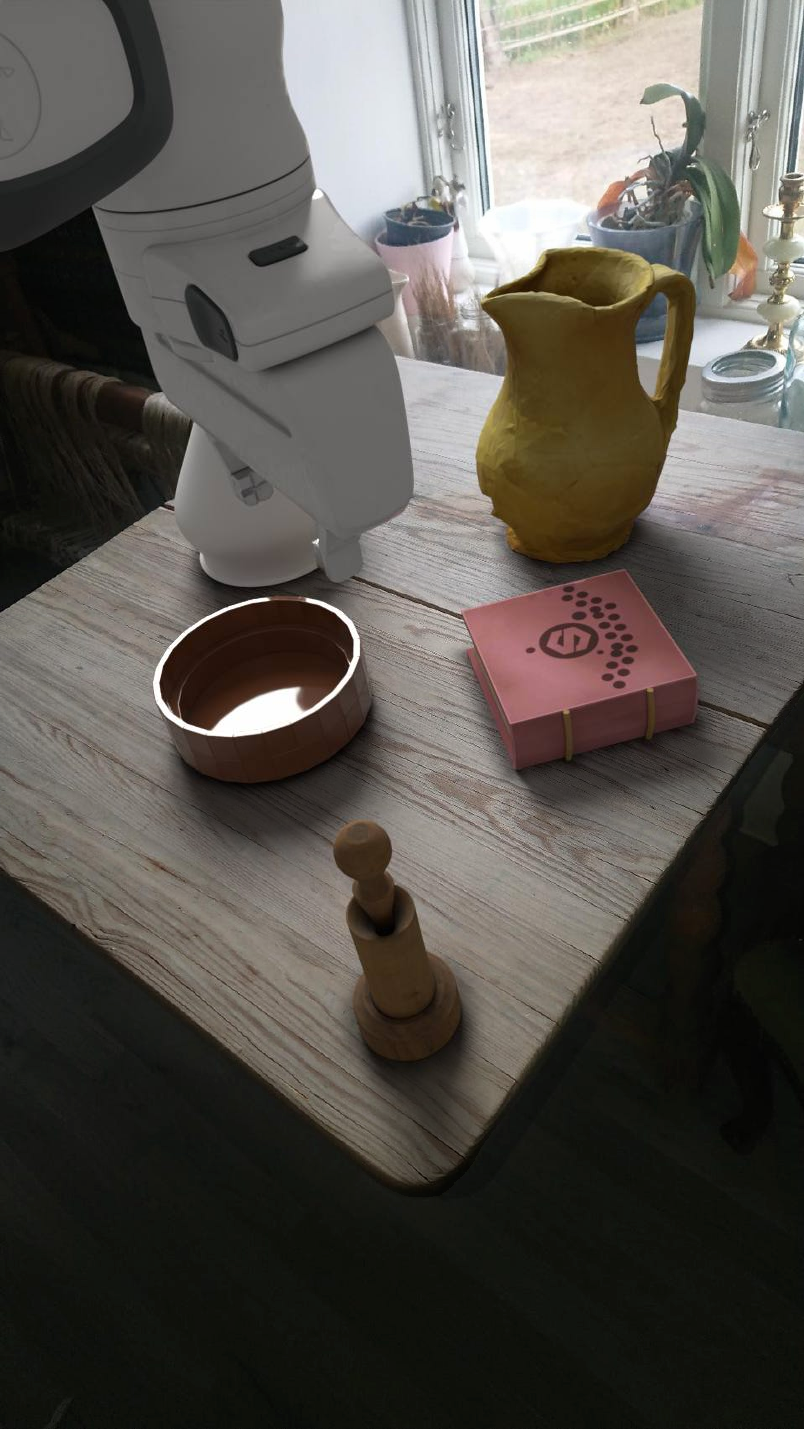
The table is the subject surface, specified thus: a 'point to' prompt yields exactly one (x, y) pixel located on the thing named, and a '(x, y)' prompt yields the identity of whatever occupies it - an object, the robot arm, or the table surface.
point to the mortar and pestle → (392, 955)
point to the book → (578, 669)
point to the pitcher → (581, 401)
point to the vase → (239, 524)
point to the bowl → (264, 688)
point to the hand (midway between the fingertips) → (295, 532)
